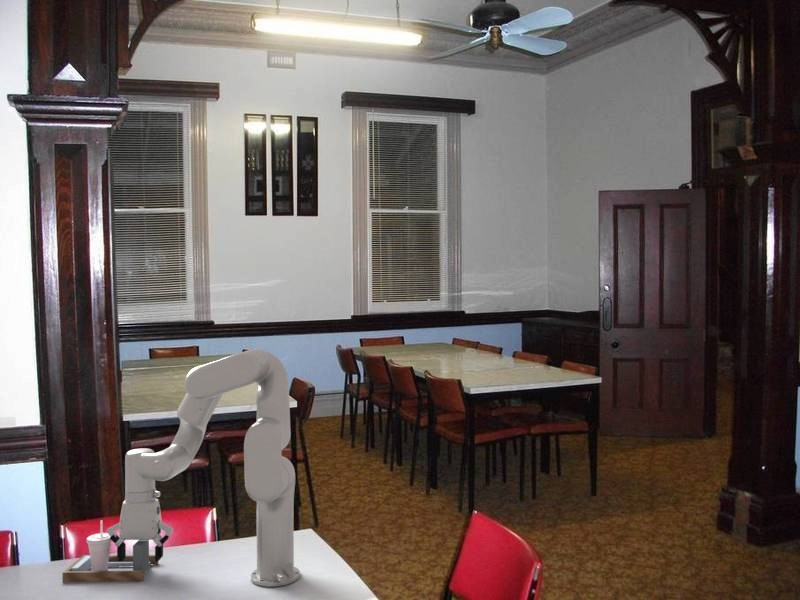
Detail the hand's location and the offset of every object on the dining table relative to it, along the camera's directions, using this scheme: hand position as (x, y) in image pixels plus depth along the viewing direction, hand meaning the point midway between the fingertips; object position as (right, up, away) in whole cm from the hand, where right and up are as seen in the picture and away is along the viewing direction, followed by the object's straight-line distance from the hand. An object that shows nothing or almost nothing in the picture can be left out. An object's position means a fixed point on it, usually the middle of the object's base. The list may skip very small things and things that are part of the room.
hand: (140, 559), depth 193 cm
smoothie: (-11, -4, 0) cm, 11 cm away
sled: (-7, -3, 0) cm, 8 cm away
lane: (-7, -3, 0) cm, 8 cm away
